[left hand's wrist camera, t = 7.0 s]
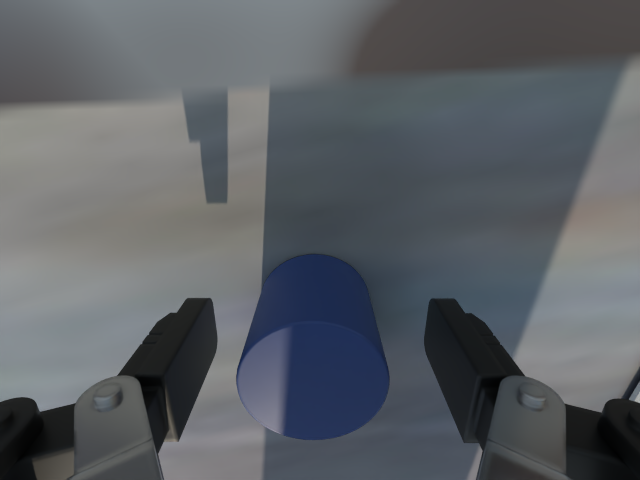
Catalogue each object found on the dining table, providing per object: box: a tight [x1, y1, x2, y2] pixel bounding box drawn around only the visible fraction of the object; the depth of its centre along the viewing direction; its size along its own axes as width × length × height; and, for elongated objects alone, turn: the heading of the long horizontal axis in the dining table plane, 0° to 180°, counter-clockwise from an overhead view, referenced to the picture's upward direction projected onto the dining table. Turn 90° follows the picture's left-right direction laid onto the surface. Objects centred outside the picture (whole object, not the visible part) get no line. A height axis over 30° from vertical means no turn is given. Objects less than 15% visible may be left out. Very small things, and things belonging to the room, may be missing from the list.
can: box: [236, 254, 389, 440], centre depth 11 cm, size 4×4×4 cm
